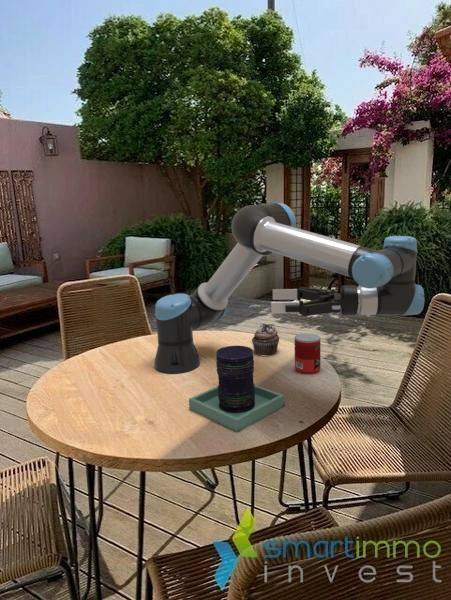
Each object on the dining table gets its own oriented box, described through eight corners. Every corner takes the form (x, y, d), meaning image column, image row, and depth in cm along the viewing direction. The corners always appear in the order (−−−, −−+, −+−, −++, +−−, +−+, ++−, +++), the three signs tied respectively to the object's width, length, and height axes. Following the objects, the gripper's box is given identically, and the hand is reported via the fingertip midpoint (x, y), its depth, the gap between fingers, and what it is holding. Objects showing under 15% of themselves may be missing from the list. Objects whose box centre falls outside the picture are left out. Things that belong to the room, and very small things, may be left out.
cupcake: (254, 347, 169) (253, 321, 166) (280, 347, 167) (280, 321, 164) (250, 356, 160) (249, 329, 157) (278, 357, 158) (277, 329, 155)
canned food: (320, 375, 141) (320, 341, 139) (294, 374, 143) (293, 340, 140) (320, 365, 149) (320, 333, 146) (295, 364, 150) (295, 332, 148)
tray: (189, 409, 123) (188, 398, 123) (236, 387, 135) (236, 377, 135) (237, 431, 111) (236, 420, 110) (284, 405, 123) (284, 395, 122)
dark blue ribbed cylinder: (230, 393, 129) (227, 343, 126) (261, 400, 124) (260, 348, 121) (211, 408, 121) (208, 355, 118) (244, 416, 116) (242, 361, 113)
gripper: (364, 329, 104) (270, 329, 107) (349, 302, 128) (273, 302, 131) (366, 297, 102) (270, 298, 105) (350, 275, 126) (273, 276, 129)
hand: (271, 300), depth 118 cm, fingers open, 13 cm apart
